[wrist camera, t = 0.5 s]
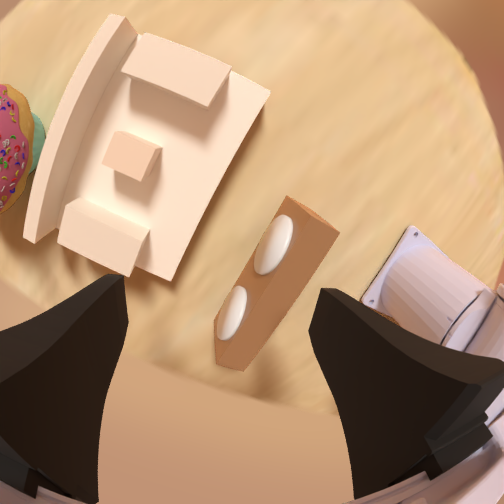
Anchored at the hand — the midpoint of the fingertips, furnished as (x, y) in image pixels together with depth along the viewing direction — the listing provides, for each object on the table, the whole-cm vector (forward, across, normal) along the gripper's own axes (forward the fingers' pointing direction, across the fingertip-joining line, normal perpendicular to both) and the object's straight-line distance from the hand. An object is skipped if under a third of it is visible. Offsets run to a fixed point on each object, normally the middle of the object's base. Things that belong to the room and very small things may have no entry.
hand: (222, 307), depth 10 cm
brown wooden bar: (+10, -3, +3) cm, 11 cm away
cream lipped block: (+9, +5, -4) cm, 12 cm away
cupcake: (+10, +16, -5) cm, 19 cm away
